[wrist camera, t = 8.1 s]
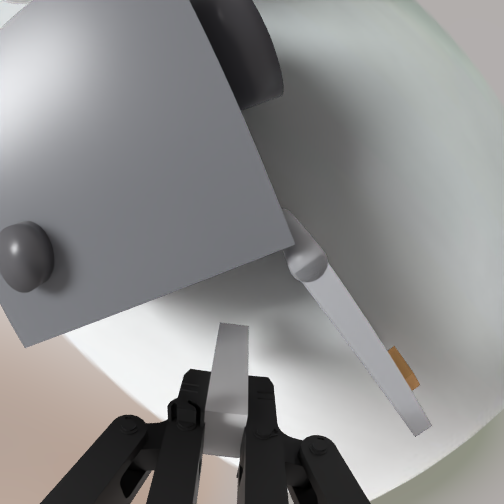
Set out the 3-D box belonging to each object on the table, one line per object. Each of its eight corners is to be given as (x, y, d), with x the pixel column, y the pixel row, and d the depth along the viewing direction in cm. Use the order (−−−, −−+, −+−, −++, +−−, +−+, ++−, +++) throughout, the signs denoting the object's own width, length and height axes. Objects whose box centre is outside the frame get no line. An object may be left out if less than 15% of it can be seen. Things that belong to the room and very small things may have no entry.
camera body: (43, 109, 15) (-70, 93, 6) (229, 8, 14) (211, -104, 4) (108, 277, 18) (16, 361, 9) (311, 192, 17) (382, 225, 7)
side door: (368, 355, 19) (413, 438, 12) (267, 217, 17) (280, 260, 9) (389, 340, 19) (442, 418, 11) (292, 198, 17) (327, 225, 9)
